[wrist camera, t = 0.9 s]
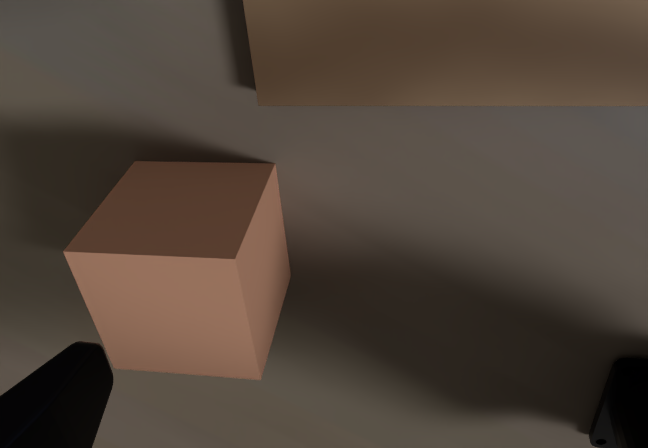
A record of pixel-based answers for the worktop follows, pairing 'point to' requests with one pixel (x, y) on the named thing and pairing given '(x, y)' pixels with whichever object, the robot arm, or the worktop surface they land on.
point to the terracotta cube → (186, 267)
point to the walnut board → (449, 52)
